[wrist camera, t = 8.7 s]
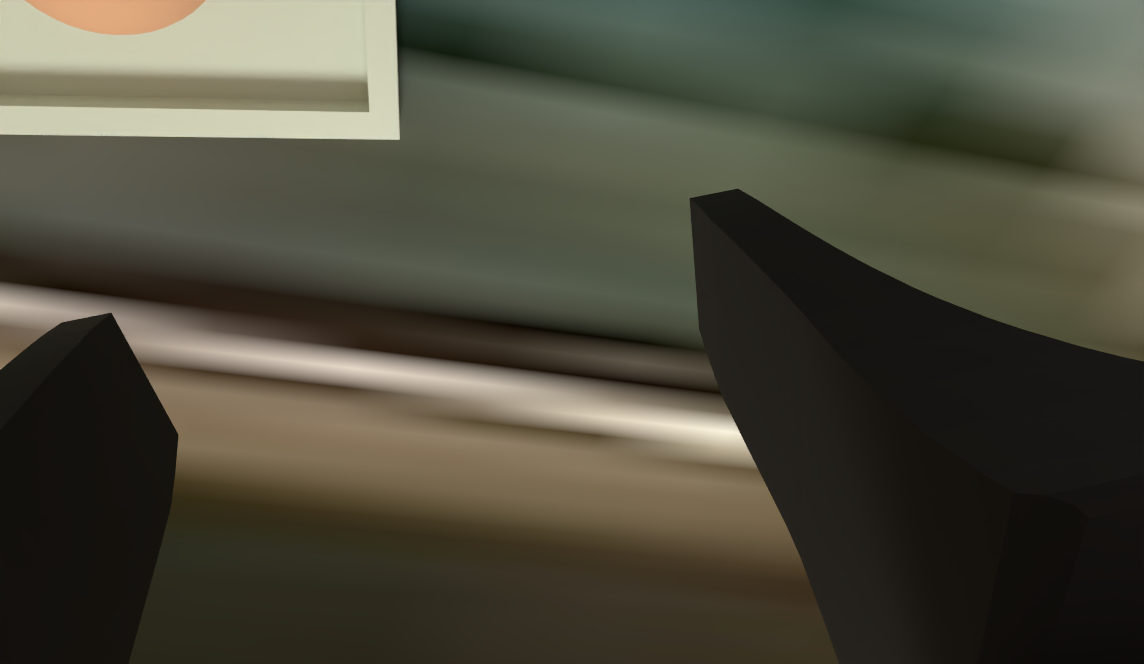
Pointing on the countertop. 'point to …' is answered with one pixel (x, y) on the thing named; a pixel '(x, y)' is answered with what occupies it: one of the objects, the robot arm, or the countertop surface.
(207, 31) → the tray
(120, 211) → the countertop surface
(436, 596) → the countertop surface
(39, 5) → the ball
